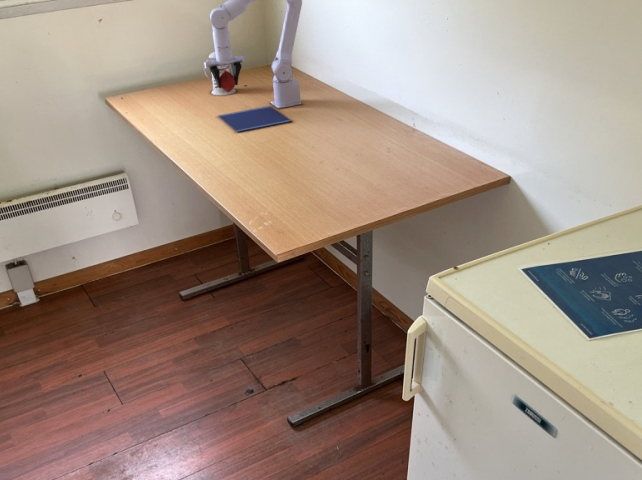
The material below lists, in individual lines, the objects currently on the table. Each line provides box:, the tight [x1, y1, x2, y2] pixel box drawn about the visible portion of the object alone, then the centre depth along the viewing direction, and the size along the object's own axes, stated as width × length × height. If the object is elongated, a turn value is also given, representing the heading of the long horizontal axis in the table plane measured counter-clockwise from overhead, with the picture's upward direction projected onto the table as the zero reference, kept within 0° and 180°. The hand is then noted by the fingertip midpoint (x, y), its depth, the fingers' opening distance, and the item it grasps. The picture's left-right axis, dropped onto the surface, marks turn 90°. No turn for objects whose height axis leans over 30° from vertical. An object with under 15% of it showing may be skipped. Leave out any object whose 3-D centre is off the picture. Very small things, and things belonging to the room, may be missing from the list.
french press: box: [202, 51, 237, 96], centre depth 257 cm, size 10×12×25 cm
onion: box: [220, 69, 236, 92], centre depth 239 cm, size 6×6×8 cm
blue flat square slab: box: [218, 105, 292, 134], centre depth 236 cm, size 20×20×1 cm
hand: (227, 85), depth 240 cm, fingers closed on onion, 6 cm apart
